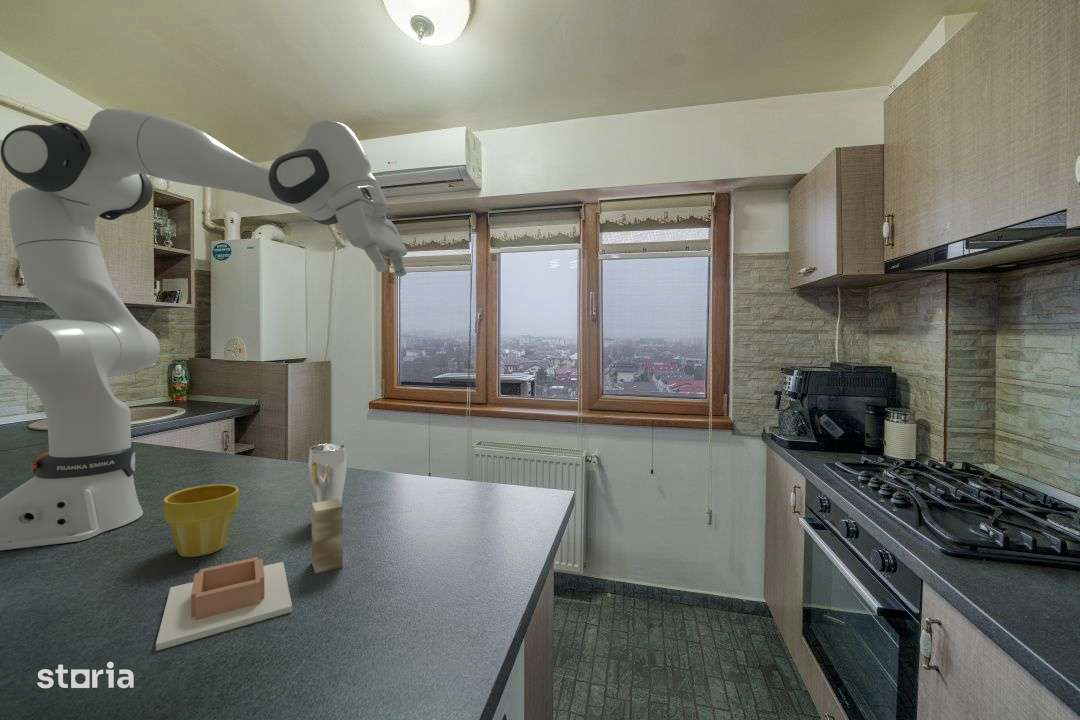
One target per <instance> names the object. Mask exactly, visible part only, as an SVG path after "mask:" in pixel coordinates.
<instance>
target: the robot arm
mask: <svg viewBox="0 0 1080 720" xmlns="http://www.w3.org/2000/svg"><path fill="white" fill-rule="evenodd" d="M0 158H1V161H2V164H3V165H4V168H6V170H7V171H8V172H9V174H11V175H13V177H14V178H16V179H18V180H19V181H21V182H23V183H24V184H26V185H28V186H29V187H26V188H22V189H19V190H17V191H15V192H14V193H12V194H11V196H10V198H9V199H8V220H9V222H8V223H9V228H10V229H9V230H10V235H11V239H12V243H13V247H14V250H15V252H16V253H15V254H16V257H17V260H18V263H19V267H20V270H21V273H22V276H23V280H24V283H25V286H26V289H27V290H28V292H29V293H30V294H31V295H32V296H33V297H34V298H35V299H37V300H38V301H40V302H42V303H43V304H45V305H47V306H48V307H49V308H51V309H52V310H53V311H54V312H55V313H56V314H57V315H58V316H59V318H60V319H55V318H54V319H53V318H51V319H43V320H36V321H30V322H26V323H25V322H24V323H20V324H16V325H14V326H12V327H10V328H9V329H7V331H5V333H3V335H2V336H1V338H0V362H1V365H2V366H3V367H4V368H5V369H6V370H7V371H8V372H9V373H11V374H12V375H13V376H15V377H18V378H19V379H20V380H23V381H24V382H25V383H26V384H28V385H29V386H30V387H31V389H32V390H33V391H34V392H35V394H36V395H37V397H38V398H39V400H40V402H41V404H42V406H43V410H44V412H45V417H46V422H47V423H46V424H47V436H48V437H47V439H48V451H46V452H43V453H40V454H39V455H37V457H36V459H35V460H34V461H33V462H32V464H31V468H30V469H31V472H32V473H33V475H34V476H33V477H32V478H30V479H28V480H27V481H25V482H24V483H22V484H21V485H19V486H18V487H16V488H15V489H13V490H12V491H10V492H8V493H7V494H5V495H4V496H3V497H1V498H0V551H7V550H14V549H24V548H33V547H40V546H48V545H57V544H66V543H73V542H80V541H85V540H88V539H91V538H93V537H95V536H97V535H99V534H102V533H105V532H107V531H110V530H113V529H117V528H120V527H122V526H125V525H127V524H131V523H132V522H134V521H136V520H138V519H139V518H140V517H141V516H143V514H144V511H143V508H142V506H141V504H140V502H139V497H138V494H137V491H136V486H135V480H134V474H135V470H136V452H135V447H134V445H132V431H131V430H132V424H131V423H132V421H131V419H132V417H131V416H132V415H131V409H130V407H129V406H128V405H127V404H126V403H125V402H124V401H122V400H121V399H117V397H116V396H115V395H114V394H113V392H112V390H111V387H110V385H109V381H108V377H118V376H119V377H120V376H126V375H130V374H133V373H137V372H139V371H140V372H141V371H143V370H145V369H147V368H150V367H152V365H154V363H156V361H157V360H158V358H159V355H160V352H161V345H160V342H159V339H158V338H157V336H156V335H155V334H154V332H152V331H151V330H149V329H148V328H146V327H145V326H143V324H141V323H140V322H139V321H138V320H137V319H136V318H135V317H134V316H133V314H132V313H131V312H130V311H129V309H128V308H127V306H126V305H125V303H124V302H123V301H122V299H121V297H120V295H118V293H117V291H116V289H115V287H114V285H113V282H112V280H111V278H110V273H109V272H108V267H107V265H106V261H105V258H104V255H103V251H102V248H101V244H100V241H99V239H98V236H97V233H96V226H95V225H96V221H97V219H98V217H99V218H100V219H105V220H108V221H113V220H117V219H118V218H120V217H122V216H124V215H130V214H131V215H132V214H135V213H138V212H140V211H141V210H143V209H145V208H146V207H147V206H148V205H149V204H150V202H151V200H152V197H153V195H154V194H153V193H154V192H153V191H154V190H153V184H152V182H151V180H150V178H149V177H148V176H150V177H154V178H158V179H160V180H166V181H170V182H174V183H180V184H185V185H191V186H197V187H198V186H199V187H204V188H210V189H216V190H217V189H218V190H221V191H222V190H223V191H229V192H235V193H241V194H245V195H248V196H251V197H252V196H253V197H256V198H260V199H263V200H267V201H270V202H274V203H276V204H277V203H278V204H281V205H284V206H288V207H290V208H291V207H292V208H293V209H295V210H297V211H299V212H300V213H301V214H304V215H305V216H307V217H308V218H310V219H311V220H313V221H314V222H316V223H317V224H319V225H323V226H331V225H335V224H337V223H338V224H339V226H340V228H341V230H342V232H343V234H344V235H345V237H346V239H347V240H348V241H349V243H350V244H351V245H352V246H353V247H354V248H357V249H361V250H363V251H364V252H365V254H366V256H368V258H369V259H370V261H371V262H372V263H373V265H374V266H375V267H374V268H376V271H377V272H380V273H384V272H386V271H388V270H389V265H388V262H387V260H385V259H384V258H388V259H390V263H392V265H393V272H394V273H395V275H396V276H397V277H403V276H406V275H407V270H406V268H405V265H404V264H405V263H404V258H403V257H405V256H407V254H408V250H407V247H406V245H405V242H404V241H403V239H402V237H401V235H400V233H399V230H398V229H397V227H396V226H395V224H394V223H393V222H392V221H391V220H390V219H388V218H387V216H386V215H387V213H388V211H389V209H390V206H389V204H388V202H387V199H386V196H385V194H384V193H383V190H382V188H381V186H380V183H379V182H378V180H377V179H376V177H374V174H373V173H372V168H371V164H370V160H369V158H368V156H367V155H366V152H365V150H364V148H363V146H362V144H361V143H360V141H359V139H358V137H357V135H356V133H354V132H353V130H352V129H351V128H350V127H348V126H347V125H345V124H344V123H341V122H338V121H335V120H334V121H333V120H321V121H318V122H316V123H314V124H312V125H310V126H309V127H308V129H307V132H306V135H305V137H303V139H302V141H301V142H300V143H299V144H298V145H297V146H296V147H294V149H292V150H291V151H289V152H288V153H285V154H282V155H280V156H278V157H277V158H276V159H275V160H274V161H273V162H272V164H271V165H270V168H269V167H266V166H263V165H260V164H257V163H255V162H253V161H252V160H249V159H247V158H245V157H244V156H242V155H240V154H238V153H237V152H235V151H234V150H232V149H231V148H229V147H228V146H226V145H224V144H223V143H222V142H220V141H219V140H217V139H216V138H214V137H212V136H211V135H209V134H208V133H206V132H205V131H202V130H201V129H198V128H197V127H194V126H192V125H191V124H190V125H189V124H187V123H185V122H183V121H180V120H177V119H174V118H170V117H166V116H163V115H160V114H154V113H150V112H145V111H141V110H139V111H138V110H132V109H123V108H122V109H121V108H105V109H102V110H100V111H98V112H96V113H94V115H93V116H92V118H91V120H90V122H89V126H88V128H86V129H85V130H79V129H77V128H76V127H75V126H73V125H72V124H70V123H67V122H57V123H53V124H27V125H23V126H19V127H16V128H15V129H13V130H11V131H9V132H8V133H6V135H5V136H4V138H3V140H2V141H1V145H0Z"/></svg>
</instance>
